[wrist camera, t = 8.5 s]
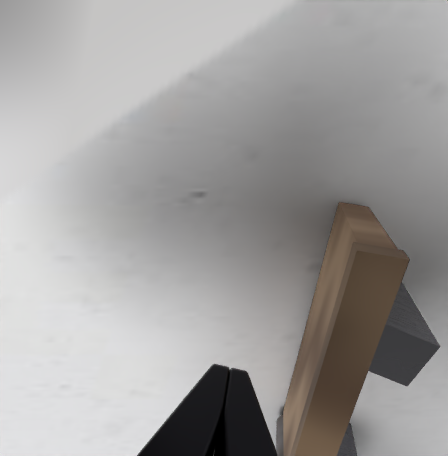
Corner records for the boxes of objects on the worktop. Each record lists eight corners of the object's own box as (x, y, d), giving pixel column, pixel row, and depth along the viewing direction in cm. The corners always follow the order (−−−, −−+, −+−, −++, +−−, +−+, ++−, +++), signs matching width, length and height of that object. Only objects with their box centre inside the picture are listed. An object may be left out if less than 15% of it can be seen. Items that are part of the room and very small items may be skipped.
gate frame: (403, 268, 16) (459, 355, 11) (342, 447, 21) (362, 566, 16) (347, 260, 16) (376, 341, 11) (299, 439, 21) (305, 553, 16)
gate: (303, 437, 20) (309, 532, 16) (274, 430, 20) (272, 524, 16) (373, 207, 15) (411, 259, 10) (333, 201, 15) (355, 250, 11)
